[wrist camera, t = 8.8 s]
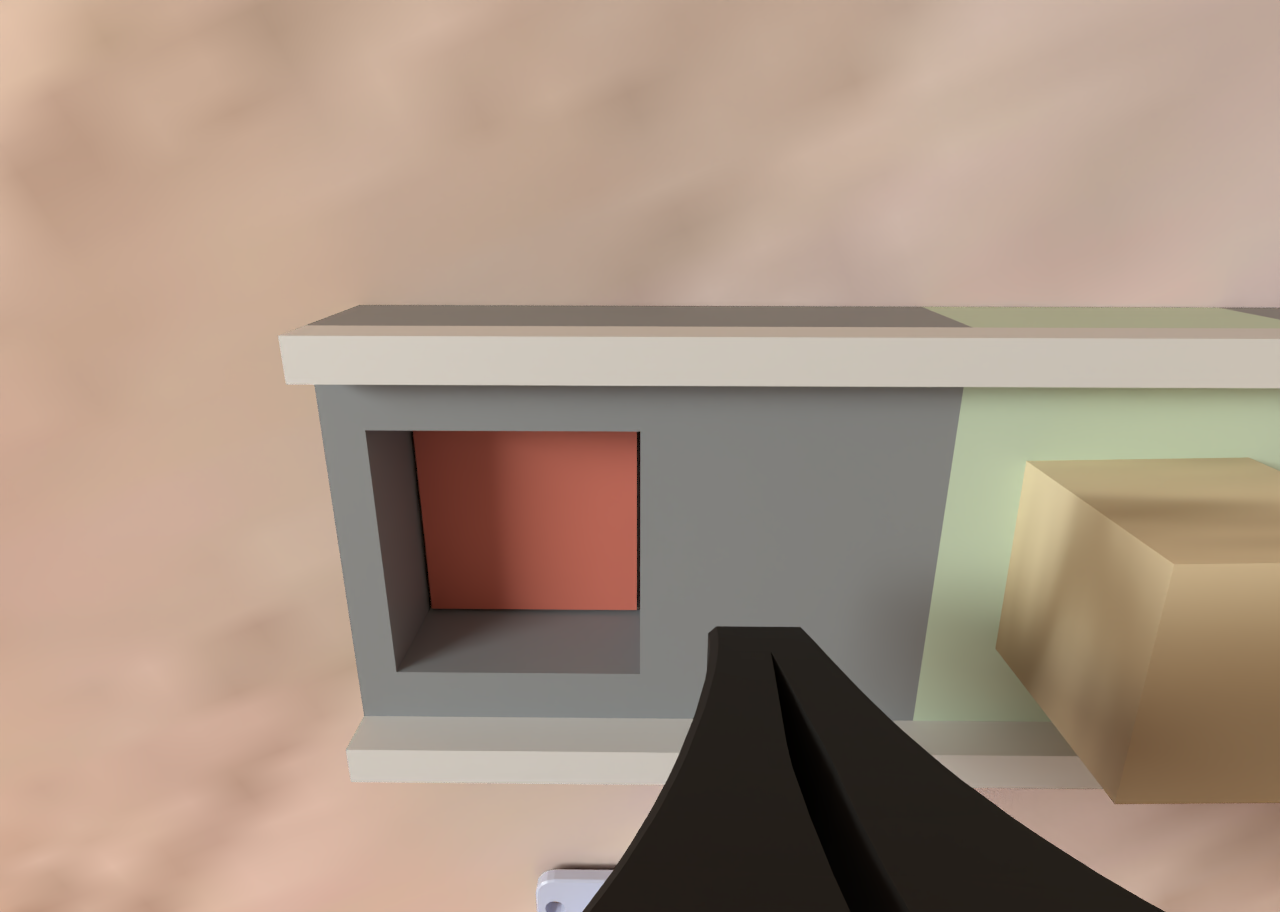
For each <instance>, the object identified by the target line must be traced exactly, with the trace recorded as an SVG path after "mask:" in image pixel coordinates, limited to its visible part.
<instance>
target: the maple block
mask: <svg viewBox="0 0 1280 912" xmlns="http://www.w3.org/2000/svg"><path fill="white" fill-rule="evenodd" d="M995 649H996V650H997V651H998V652H999V654H1000V655H1001V656H1002V658H1003V659H1004V660H1005V662H1006V663H1007V664H1008V666H1009V667H1010V668H1011V669H1012V671H1013V672H1014V673H1015V675H1016V676H1017V677H1018V679H1019V680H1020V681H1021V682H1022V684H1023V685H1024V686H1025V688H1026V689H1027V690H1028V692H1029V693H1030V694H1031V696H1032V697H1033V698H1034V699H1035V701H1036V702H1037V703H1038V705H1039V706H1040V707H1041V709H1042V710H1043V711H1044V712H1045V714H1046V715H1047V716H1048V718H1049V719H1050V720H1051V722H1052V723H1053V724H1054V725H1055V727H1056V728H1057V729H1058V731H1059V732H1060V733H1061V735H1062V736H1063V737H1064V739H1065V740H1066V741H1067V742H1068V744H1069V745H1070V746H1071V748H1072V749H1073V750H1074V752H1075V753H1076V754H1077V755H1078V757H1079V758H1080V759H1081V761H1082V762H1083V763H1084V765H1085V766H1086V767H1087V769H1088V770H1089V771H1090V772H1091V774H1092V775H1093V776H1094V778H1095V779H1096V780H1097V782H1098V783H1099V784H1100V785H1101V787H1102V788H1103V789H1104V791H1105V792H1106V793H1107V795H1108V796H1109V797H1110V798H1111V800H1112V801H1113V802H1114V804H1187V803H1280V471H1279V470H1276V469H1274V468H1272V467H1269V466H1267V465H1265V464H1263V463H1260V462H1258V461H1256V460H1253V459H1251V458H1249V457H1246V458H1180V459H1114V460H1048V461H1026V466H1025V472H1024V478H1023V484H1022V490H1021V496H1020V502H1019V508H1018V514H1017V520H1016V526H1015V532H1014V538H1013V545H1012V551H1011V557H1010V563H1009V569H1008V575H1007V581H1006V587H1005V593H1004V599H1003V605H1002V611H1001V617H1000V623H999V629H998V636H997V642H996V648H995Z"/></svg>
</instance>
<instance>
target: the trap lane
mask: <svg viewBox="0 0 1280 912" xmlns="http://www.w3.org/2000/svg"><path fill="white" fill-rule="evenodd" d="M278 338H279V344H280V350H281V357H282V363H283V369H284V375H285V381H286V384H312V385H315V391H316V398H317V405H318V411H319V418H320V425H321V431H322V438H323V445H324V451H325V458H326V465H327V471H328V478H329V485H330V491H331V498H332V505H333V511H334V518H335V525H336V531H337V538H338V545H339V551H340V558H341V565H342V571H343V578H344V584H345V591H346V598H347V604H348V611H349V618H350V624H351V631H352V638H353V644H354V651H355V658H356V664H357V671H358V678H359V684H360V691H361V698H362V704H363V711H364V717H363V719H362V721H361V723H360V725H359V727H358V728H357V730H356V732H355V734H354V736H353V737H352V739H351V741H350V743H349V745H348V747H347V748H346V754H347V760H348V766H349V773H350V779H351V782H407V783H513V784H620V785H665V783H666V781H667V779H668V777H669V775H670V773H671V771H672V768H673V766H674V764H675V762H676V760H677V758H678V755H679V753H680V750H681V748H682V745H683V743H684V741H685V738H686V736H687V733H688V731H689V728H690V726H691V723H692V721H693V718H694V715H695V712H696V709H697V705H698V702H699V699H700V695H701V692H702V688H703V685H704V682H705V677H706V672H707V650H708V633H709V632H710V631H711V630H713V629H714V628H715V627H716V626H743V627H801V628H802V629H803V630H804V631H805V632H806V633H807V634H808V635H809V636H810V637H811V638H812V639H813V640H814V641H815V642H816V643H817V645H818V646H819V647H820V648H821V649H822V650H823V651H824V652H825V653H826V654H827V655H828V656H829V657H830V658H831V660H832V661H833V662H834V663H835V664H836V665H837V666H838V667H839V668H840V669H841V670H842V671H843V672H844V673H845V674H846V675H847V676H848V677H849V679H850V680H851V681H852V682H853V683H854V684H855V685H856V686H857V687H858V688H859V689H860V690H861V691H862V692H863V693H864V694H865V695H866V696H867V697H868V698H869V699H870V700H871V701H872V702H873V703H874V704H875V705H876V706H877V707H878V708H879V709H881V710H882V711H883V712H884V713H885V714H886V715H887V716H888V717H889V718H890V719H891V720H892V721H893V722H894V723H895V724H896V725H898V726H899V727H900V728H901V729H902V730H903V731H904V732H905V733H906V734H907V735H909V736H910V737H911V738H912V739H913V740H914V741H916V742H917V743H918V744H919V745H920V746H921V747H923V748H924V749H925V750H926V751H927V752H928V753H929V754H931V755H932V756H933V757H934V758H935V759H936V760H938V761H939V762H940V763H941V764H942V765H944V766H945V767H946V768H947V769H949V770H950V771H951V772H952V773H954V774H955V775H956V776H957V777H959V778H960V779H961V780H962V781H964V782H965V783H966V784H968V785H969V786H970V787H972V788H1045V789H1103V788H1102V787H1101V785H1100V784H1099V783H1098V782H1097V780H1096V779H1095V778H1094V776H1093V775H1092V774H1091V772H1090V771H1089V770H1088V769H1087V767H1086V766H1085V765H1084V763H1083V762H1082V761H1081V759H1080V758H1079V757H1078V755H1077V754H1076V753H1075V752H1074V750H1073V749H1072V748H1071V746H1070V745H1069V744H1068V742H1067V741H1066V740H1065V739H1064V737H1063V736H1062V735H1061V733H1060V732H1059V731H1058V729H1057V728H1056V727H1055V725H1054V724H1053V723H1052V722H1051V720H1050V719H1049V718H1048V716H1047V715H1046V714H1045V712H1044V711H1043V710H1042V709H1041V707H1040V706H1039V705H1038V703H1037V702H1036V701H1035V699H1034V698H1033V697H1032V696H1031V694H1030V693H1029V692H1028V690H1027V689H1026V688H1025V686H1024V685H1023V684H1022V682H1021V681H1020V680H1019V679H1018V677H1017V676H1016V675H1015V673H1014V672H1013V671H1012V669H1011V668H1010V667H1009V666H1008V664H1007V663H1006V662H1005V660H1004V659H1003V658H1002V656H1001V655H1000V654H999V652H998V651H997V650H996V649H995V648H996V642H997V636H998V629H999V623H1000V617H1001V611H1002V605H1003V599H1004V593H1005V587H1006V581H1007V575H1008V569H1009V563H1010V557H1011V551H1012V545H1013V538H1014V532H1015V526H1016V520H1017V514H1018V508H1019V502H1020V496H1021V490H1022V484H1023V478H1024V472H1025V466H1026V461H1048V460H1114V459H1180V458H1246V457H1249V458H1251V459H1253V460H1256V461H1258V462H1260V463H1263V464H1265V465H1267V466H1269V467H1272V468H1274V469H1276V470H1279V471H1280V308H1160V307H807V306H454V305H359V306H356V307H353V308H351V309H348V310H345V311H343V312H340V313H337V314H335V315H332V316H329V317H327V318H324V319H321V320H319V321H316V322H313V323H311V324H308V325H305V326H303V327H300V328H297V329H295V330H292V331H289V332H287V333H284V334H281V335H279V336H278ZM412 431H413V435H414V444H415V454H416V463H417V473H418V482H419V491H420V501H421V510H422V519H423V529H424V538H425V548H426V557H427V566H428V576H429V585H430V594H431V604H432V608H431V607H430V598H429V589H428V579H427V570H426V561H425V551H424V542H423V533H422V524H421V514H420V505H419V496H418V486H417V477H416V468H415V458H414V449H413V440H412ZM637 432H640V609H637Z"/></svg>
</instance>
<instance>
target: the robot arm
mask: <svg viewBox="0 0 1280 912" xmlns="http://www.w3.org/2000/svg"><path fill="white" fill-rule="evenodd" d="M536 901H537V912H1165V911H1163V910H1161V909H1159V908H1157V907H1155V906H1154V905H1152V904H1150V903H1148V902H1146V901H1144V900H1143V899H1141V898H1139V897H1138V896H1136V895H1134V894H1133V893H1131V892H1129V891H1127V890H1126V889H1124V888H1122V887H1121V886H1119V885H1117V884H1115V883H1114V882H1112V881H1110V880H1109V879H1107V878H1105V877H1103V876H1102V875H1100V874H1099V873H1097V872H1095V871H1094V870H1092V869H1091V868H1089V867H1087V866H1086V865H1084V864H1083V863H1081V862H1080V861H1078V860H1076V859H1075V858H1073V857H1072V856H1070V855H1069V854H1067V853H1065V852H1064V851H1062V850H1061V849H1059V848H1058V847H1056V846H1054V845H1053V844H1051V843H1050V842H1048V841H1047V840H1045V839H1043V838H1042V837H1040V836H1039V835H1037V834H1036V833H1034V832H1033V831H1031V830H1030V829H1029V828H1027V827H1026V826H1024V825H1023V824H1021V823H1020V822H1018V821H1017V820H1015V819H1014V818H1012V817H1011V816H1010V815H1008V814H1007V813H1005V812H1004V811H1003V810H1001V809H1000V808H999V807H997V806H996V805H995V804H993V803H992V802H991V801H989V800H988V799H987V798H985V797H984V796H983V795H981V794H980V793H979V792H977V791H976V790H974V789H973V788H972V787H970V786H969V785H968V784H966V783H965V782H964V781H962V780H961V779H960V778H959V777H957V776H956V775H955V774H954V773H952V772H951V771H950V770H949V769H947V768H946V767H945V766H944V765H942V764H941V763H940V762H939V761H938V760H936V759H935V758H934V757H933V756H932V755H931V754H929V753H928V752H927V751H926V750H925V749H924V748H923V747H921V746H920V745H919V744H918V743H917V742H916V741H914V740H913V739H912V738H911V737H910V736H909V735H907V734H906V733H905V732H904V731H903V730H902V729H901V728H900V727H899V726H898V725H896V724H895V723H894V722H893V721H892V720H891V719H890V718H889V717H888V716H887V715H886V714H885V713H884V712H883V711H882V710H881V709H879V708H878V707H877V706H876V705H875V704H874V703H873V702H872V701H871V700H870V699H869V698H868V697H867V696H866V695H865V694H864V693H863V692H862V691H861V690H860V689H859V688H858V687H857V686H856V685H855V684H854V683H853V682H852V681H851V680H850V679H849V677H848V676H847V675H846V674H845V673H844V672H843V671H842V670H841V669H840V668H839V667H838V666H837V665H836V664H835V663H834V662H833V661H832V660H831V658H830V657H829V656H828V655H827V654H826V653H825V652H824V651H823V650H822V649H821V648H820V647H819V646H818V645H817V643H816V642H815V641H814V640H813V639H812V638H811V637H810V636H809V635H808V634H807V633H806V632H805V631H804V630H803V629H802V628H801V627H743V626H716V627H715V628H714V629H713V630H711V631H710V632H709V633H708V650H707V672H706V677H705V682H704V685H703V688H702V692H701V695H700V699H699V702H698V705H697V709H696V712H695V715H694V718H693V721H692V723H691V726H690V728H689V731H688V733H687V736H686V738H685V741H684V743H683V745H682V748H681V750H680V753H679V755H678V758H677V760H676V762H675V764H674V766H673V768H672V771H671V773H670V775H669V777H668V779H667V781H666V783H665V785H664V787H663V789H662V791H661V793H660V794H659V796H658V798H657V800H656V802H655V804H654V806H653V808H652V809H651V811H650V813H649V815H648V816H647V818H646V819H645V821H644V823H643V824H642V826H641V828H640V829H639V831H638V833H637V834H636V836H635V838H634V839H633V841H632V843H631V844H630V846H629V847H628V849H627V851H626V852H625V854H624V855H623V857H622V858H621V860H620V861H619V863H618V864H617V866H616V867H615V868H614V870H579V869H554V870H548V871H546V872H544V873H542V875H541V876H540V877H539V879H538V884H537V890H536ZM553 901H556V902H553ZM557 902H558V903H557Z"/></svg>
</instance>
